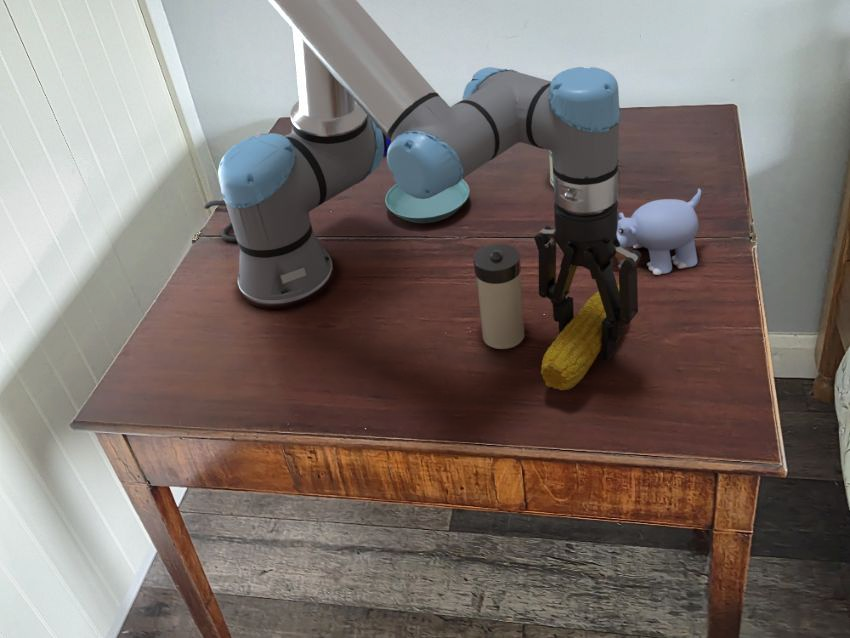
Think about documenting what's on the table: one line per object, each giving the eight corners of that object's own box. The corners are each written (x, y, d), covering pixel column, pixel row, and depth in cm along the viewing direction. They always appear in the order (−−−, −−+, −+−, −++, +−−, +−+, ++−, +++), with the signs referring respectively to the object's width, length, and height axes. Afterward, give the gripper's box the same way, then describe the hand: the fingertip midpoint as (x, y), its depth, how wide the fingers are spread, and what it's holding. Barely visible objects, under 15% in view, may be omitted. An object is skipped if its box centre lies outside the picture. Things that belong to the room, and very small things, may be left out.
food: (575, 403, 113) (574, 368, 109) (535, 390, 115) (533, 356, 112) (635, 306, 126) (636, 272, 122) (598, 297, 128) (597, 263, 125)
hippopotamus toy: (593, 247, 141) (593, 195, 135) (682, 225, 142) (685, 173, 136) (620, 285, 132) (621, 232, 126) (714, 262, 134) (720, 208, 128)
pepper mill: (473, 341, 127) (463, 257, 118) (496, 316, 130) (489, 233, 121) (510, 354, 123) (503, 270, 114) (533, 329, 127) (528, 245, 118)
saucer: (405, 181, 164) (403, 169, 162) (482, 188, 158) (480, 175, 157) (374, 225, 153) (371, 212, 152) (454, 234, 148) (453, 221, 146)
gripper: (502, 197, 108) (513, 341, 123) (644, 235, 99) (639, 387, 113) (534, 169, 113) (541, 311, 127) (673, 202, 103) (664, 352, 117)
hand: (587, 347), depth 120 cm, fingers closed on food, 6 cm apart
